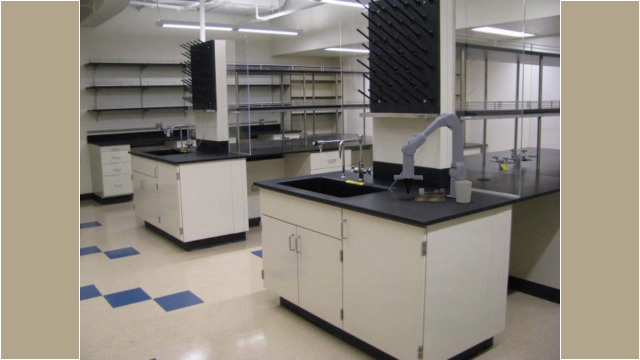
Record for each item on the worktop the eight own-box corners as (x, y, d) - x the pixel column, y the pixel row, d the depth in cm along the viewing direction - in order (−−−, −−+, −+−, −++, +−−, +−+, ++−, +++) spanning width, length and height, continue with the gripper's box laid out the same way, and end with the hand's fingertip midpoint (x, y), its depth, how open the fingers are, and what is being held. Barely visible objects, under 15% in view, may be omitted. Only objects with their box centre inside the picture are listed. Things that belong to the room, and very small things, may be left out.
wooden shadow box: (414, 201, 258) (414, 191, 257) (414, 197, 267) (414, 188, 266) (445, 201, 255) (445, 191, 255) (444, 198, 264) (444, 188, 263)
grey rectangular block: (419, 196, 259) (419, 190, 258) (419, 194, 265) (419, 188, 264) (424, 196, 259) (424, 190, 258) (423, 194, 264) (423, 188, 264)
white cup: (473, 201, 255) (473, 181, 254) (469, 203, 248) (469, 183, 247) (457, 199, 259) (457, 180, 258) (453, 202, 252) (453, 182, 251)
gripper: (393, 168, 258) (393, 194, 260) (422, 168, 255) (422, 194, 257) (394, 166, 265) (394, 192, 267) (422, 166, 262) (422, 192, 264)
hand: (408, 193), depth 263 cm, fingers closed
